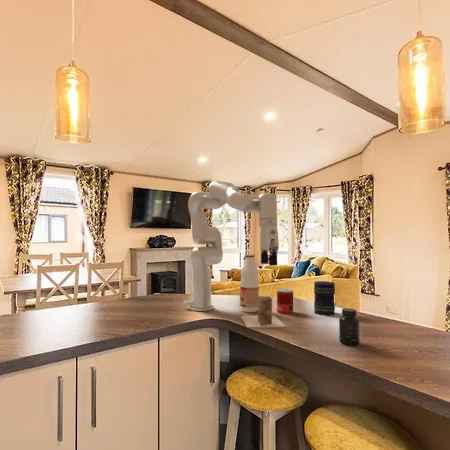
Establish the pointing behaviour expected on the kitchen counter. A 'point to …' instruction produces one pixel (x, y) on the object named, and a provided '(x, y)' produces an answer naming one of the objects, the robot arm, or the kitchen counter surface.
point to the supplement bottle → (349, 328)
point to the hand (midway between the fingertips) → (268, 264)
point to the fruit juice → (249, 286)
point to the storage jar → (324, 298)
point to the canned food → (285, 301)
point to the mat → (253, 323)
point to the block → (264, 311)
